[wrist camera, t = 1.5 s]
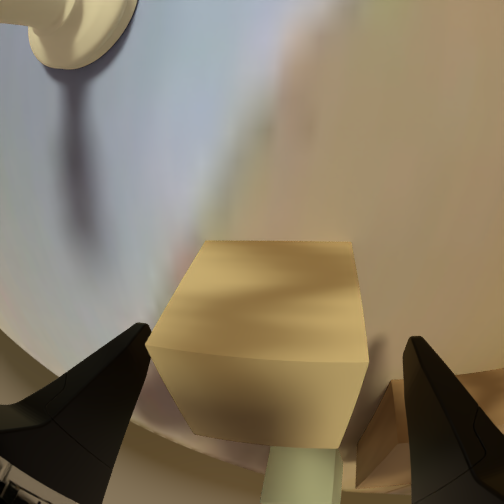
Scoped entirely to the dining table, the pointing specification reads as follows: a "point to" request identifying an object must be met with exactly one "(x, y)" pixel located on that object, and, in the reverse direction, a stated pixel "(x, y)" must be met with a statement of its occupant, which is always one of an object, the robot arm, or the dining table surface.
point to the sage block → (302, 476)
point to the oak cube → (265, 342)
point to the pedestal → (396, 431)
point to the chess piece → (69, 27)
